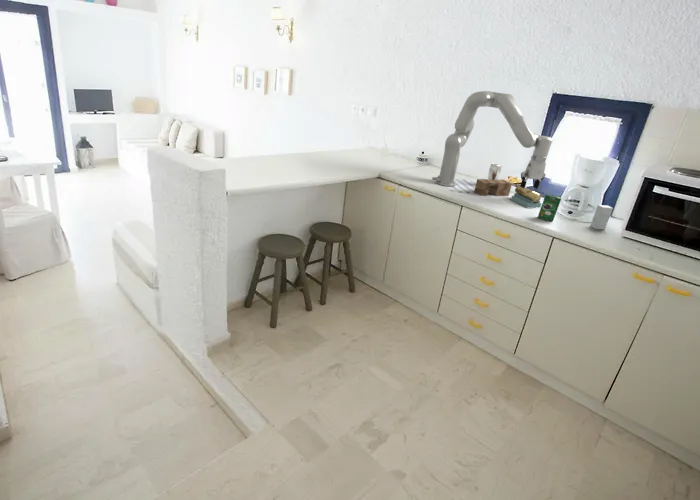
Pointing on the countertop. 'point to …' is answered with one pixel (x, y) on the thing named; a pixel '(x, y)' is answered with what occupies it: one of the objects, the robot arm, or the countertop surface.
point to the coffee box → (549, 207)
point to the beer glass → (494, 171)
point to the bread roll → (528, 193)
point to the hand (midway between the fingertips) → (528, 187)
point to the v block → (525, 201)
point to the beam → (492, 187)
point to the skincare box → (601, 217)
